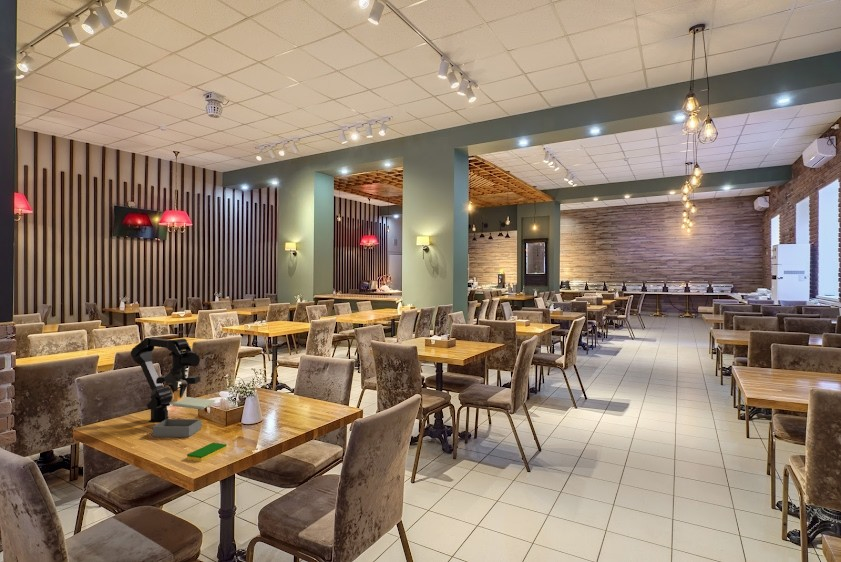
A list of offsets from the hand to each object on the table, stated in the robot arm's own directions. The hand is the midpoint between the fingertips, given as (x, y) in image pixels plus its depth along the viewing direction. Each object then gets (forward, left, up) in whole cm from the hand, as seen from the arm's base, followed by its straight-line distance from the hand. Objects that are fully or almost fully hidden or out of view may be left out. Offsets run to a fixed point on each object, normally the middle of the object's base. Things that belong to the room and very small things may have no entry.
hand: (178, 397), depth 217 cm
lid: (+7, 0, -4) cm, 8 cm away
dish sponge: (+32, -38, -13) cm, 51 cm away
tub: (+7, -14, -12) cm, 20 cm away
